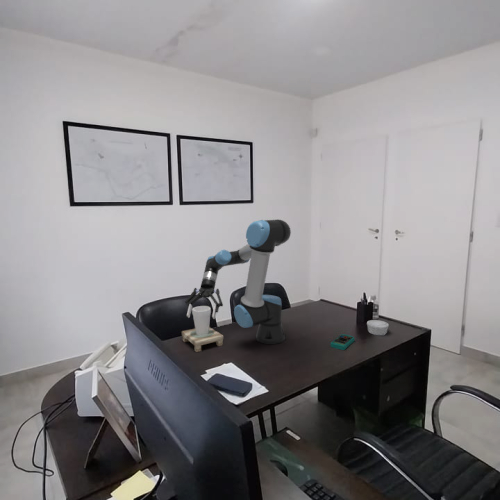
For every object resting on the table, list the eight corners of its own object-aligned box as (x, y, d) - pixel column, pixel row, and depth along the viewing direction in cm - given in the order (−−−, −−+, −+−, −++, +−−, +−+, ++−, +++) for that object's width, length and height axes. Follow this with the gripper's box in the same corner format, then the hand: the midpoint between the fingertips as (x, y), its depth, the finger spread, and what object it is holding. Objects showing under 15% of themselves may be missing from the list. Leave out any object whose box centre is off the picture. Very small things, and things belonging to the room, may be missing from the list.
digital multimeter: (355, 341, 174) (355, 335, 174) (344, 351, 163) (344, 345, 162) (341, 338, 179) (341, 333, 178) (329, 347, 167) (329, 342, 167)
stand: (223, 345, 171) (223, 335, 170) (196, 352, 163) (195, 342, 162) (207, 334, 186) (207, 325, 185) (182, 340, 178) (181, 331, 177)
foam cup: (196, 337, 168) (195, 312, 166) (190, 331, 176) (189, 307, 174) (214, 334, 172) (213, 309, 170) (207, 328, 180) (207, 305, 178)
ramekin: (386, 337, 178) (387, 328, 177) (364, 334, 183) (365, 324, 182) (389, 331, 187) (390, 321, 186) (368, 327, 193) (369, 318, 192)
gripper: (232, 286, 185) (225, 321, 173) (189, 284, 190) (179, 319, 177) (229, 278, 179) (222, 314, 167) (185, 277, 184) (175, 312, 172)
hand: (200, 317), depth 172 cm, fingers open, 13 cm apart
